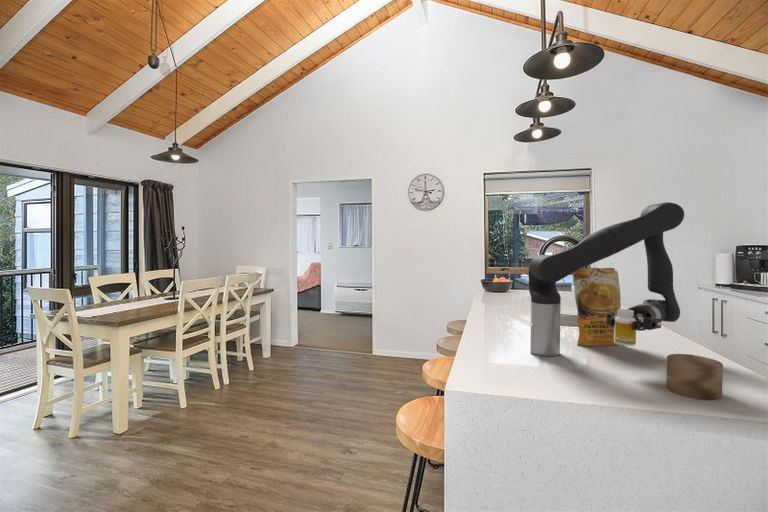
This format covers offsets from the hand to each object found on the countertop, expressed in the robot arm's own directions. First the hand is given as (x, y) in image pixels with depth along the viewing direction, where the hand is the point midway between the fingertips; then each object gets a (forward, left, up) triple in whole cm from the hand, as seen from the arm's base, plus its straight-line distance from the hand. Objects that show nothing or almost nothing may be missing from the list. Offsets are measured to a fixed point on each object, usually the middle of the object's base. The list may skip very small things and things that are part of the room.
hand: (621, 324), depth 110 cm
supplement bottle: (+1, +2, -6) cm, 7 cm away
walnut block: (+14, -8, -15) cm, 22 cm away
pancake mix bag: (-2, +33, -15) cm, 36 cm away
